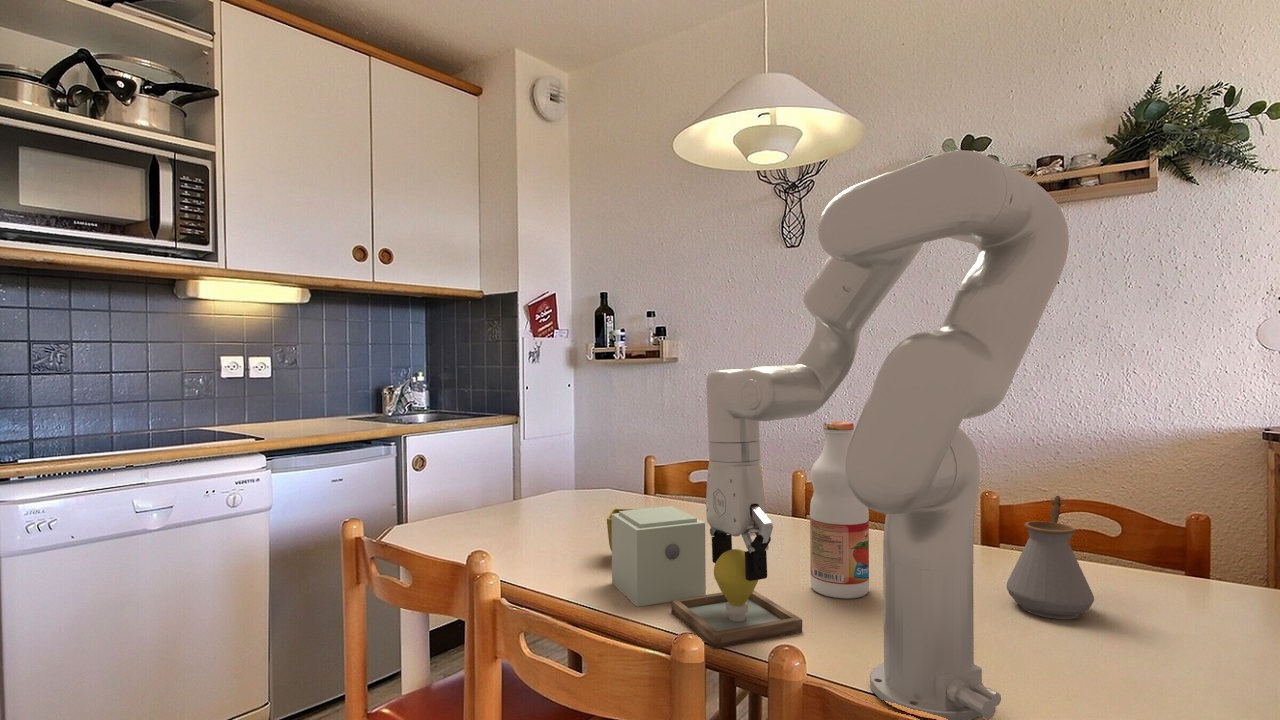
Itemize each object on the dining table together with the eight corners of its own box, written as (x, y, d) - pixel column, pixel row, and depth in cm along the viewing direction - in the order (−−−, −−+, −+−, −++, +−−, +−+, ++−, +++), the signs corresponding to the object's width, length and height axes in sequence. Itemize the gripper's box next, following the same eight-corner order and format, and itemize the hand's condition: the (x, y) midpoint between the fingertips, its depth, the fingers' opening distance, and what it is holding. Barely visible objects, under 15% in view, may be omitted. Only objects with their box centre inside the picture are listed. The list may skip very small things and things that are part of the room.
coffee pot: (1092, 631, 94) (1091, 525, 94) (1000, 612, 101) (999, 514, 101) (1100, 588, 111) (1099, 499, 111) (1021, 575, 118) (1020, 491, 118)
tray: (802, 632, 94) (802, 619, 94) (714, 648, 89) (714, 635, 89) (750, 599, 107) (750, 587, 107) (671, 612, 102) (671, 600, 102)
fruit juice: (809, 578, 117) (808, 419, 116) (865, 582, 115) (864, 420, 115) (812, 597, 107) (810, 425, 107) (873, 601, 105) (871, 425, 105)
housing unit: (706, 596, 108) (706, 519, 108) (638, 607, 104) (637, 526, 104) (673, 573, 120) (673, 503, 120) (611, 582, 115) (610, 509, 115)
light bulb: (760, 628, 93) (759, 558, 93) (712, 625, 95) (711, 555, 95) (760, 610, 100) (759, 544, 100) (715, 608, 101) (715, 542, 101)
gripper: (685, 449, 104) (689, 559, 104) (742, 461, 88) (747, 591, 88) (727, 446, 107) (731, 553, 106) (790, 456, 91) (795, 582, 90)
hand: (738, 570), depth 97 cm, fingers open, 9 cm apart
